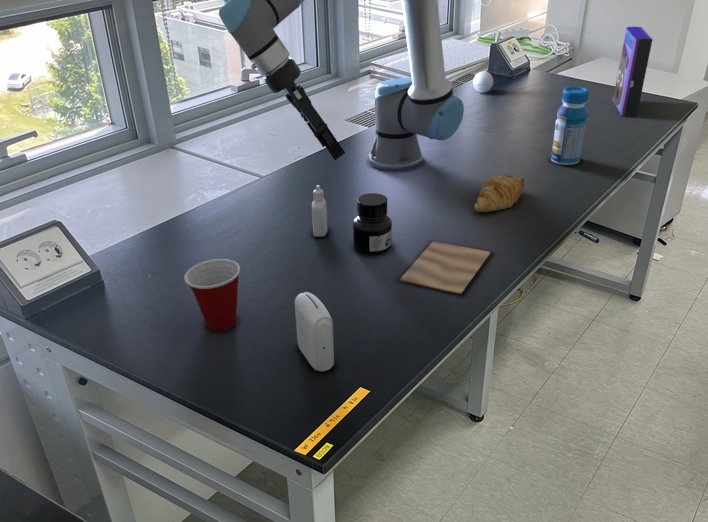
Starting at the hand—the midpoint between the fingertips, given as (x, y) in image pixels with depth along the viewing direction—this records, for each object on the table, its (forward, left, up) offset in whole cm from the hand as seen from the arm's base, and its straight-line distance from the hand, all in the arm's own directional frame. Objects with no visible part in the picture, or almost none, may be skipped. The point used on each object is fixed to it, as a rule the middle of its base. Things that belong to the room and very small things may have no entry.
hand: (333, 149), depth 161 cm
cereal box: (-125, +45, -22) cm, 135 cm away
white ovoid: (-126, -4, -22) cm, 128 cm away
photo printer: (+45, +19, -22) cm, 54 cm away
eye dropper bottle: (-1, -5, -22) cm, 22 cm away
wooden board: (+3, +29, -22) cm, 36 cm away
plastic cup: (+43, -4, -22) cm, 48 cm away
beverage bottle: (-70, +38, -22) cm, 82 cm away
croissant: (-35, +29, -22) cm, 50 cm away
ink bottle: (+1, +10, -22) cm, 24 cm away
